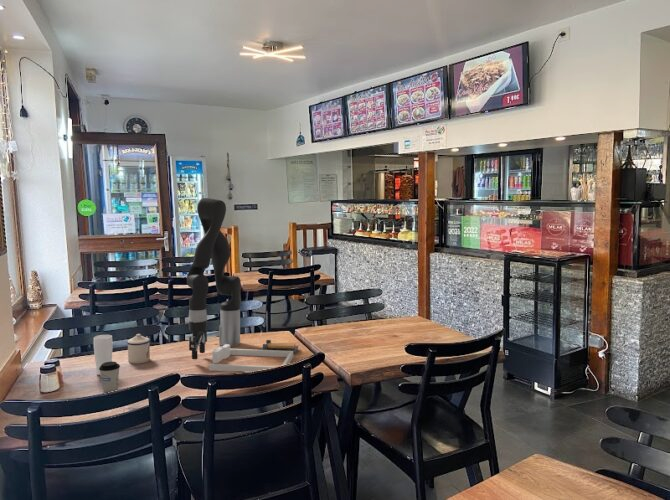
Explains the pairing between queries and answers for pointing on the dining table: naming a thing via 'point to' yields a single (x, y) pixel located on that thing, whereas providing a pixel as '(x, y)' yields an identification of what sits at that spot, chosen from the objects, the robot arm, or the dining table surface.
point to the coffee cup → (109, 376)
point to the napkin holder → (221, 353)
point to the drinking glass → (102, 350)
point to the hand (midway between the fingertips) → (198, 356)
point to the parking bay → (251, 353)
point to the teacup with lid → (138, 349)
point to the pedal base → (265, 347)
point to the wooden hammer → (281, 345)
